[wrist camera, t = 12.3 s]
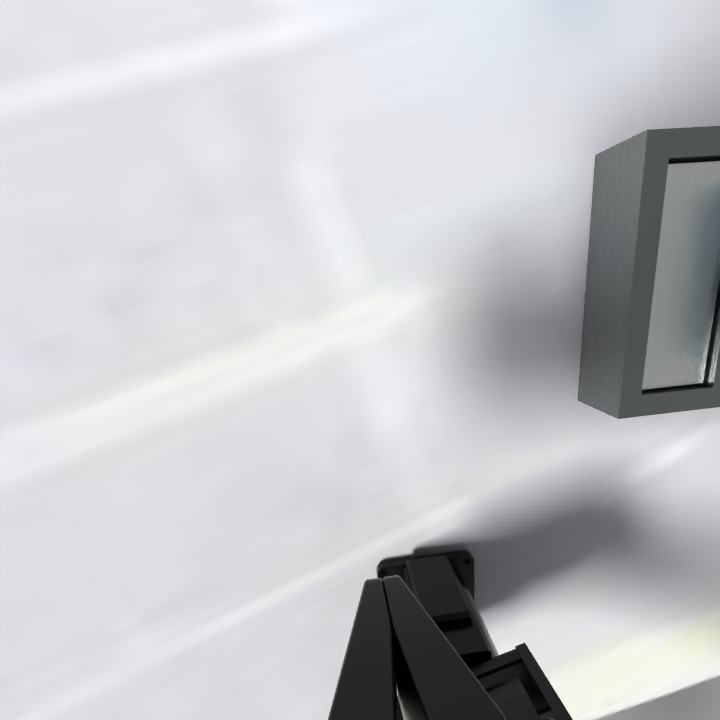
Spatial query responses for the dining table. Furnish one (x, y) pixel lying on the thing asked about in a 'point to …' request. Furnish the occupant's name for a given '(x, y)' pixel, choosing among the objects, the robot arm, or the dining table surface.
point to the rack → (654, 276)
